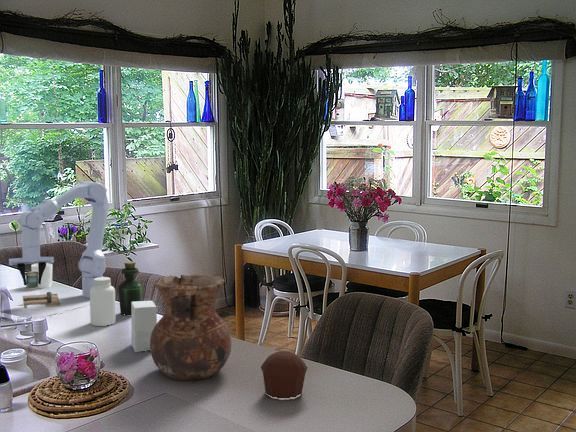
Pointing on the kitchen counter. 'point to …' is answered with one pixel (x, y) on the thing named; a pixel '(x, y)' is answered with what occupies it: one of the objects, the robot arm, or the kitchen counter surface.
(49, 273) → the white cup
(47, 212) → the robot arm
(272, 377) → the muffin
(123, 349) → the kitchen counter surface
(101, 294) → the pill bottle
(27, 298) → the hook board
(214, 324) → the jug
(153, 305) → the small box
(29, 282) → the spool
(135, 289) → the potion bottle
